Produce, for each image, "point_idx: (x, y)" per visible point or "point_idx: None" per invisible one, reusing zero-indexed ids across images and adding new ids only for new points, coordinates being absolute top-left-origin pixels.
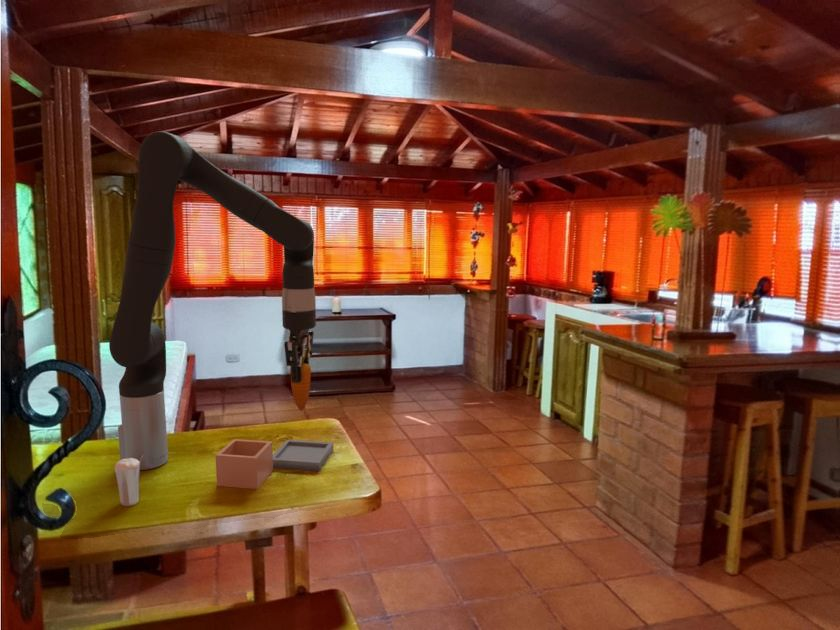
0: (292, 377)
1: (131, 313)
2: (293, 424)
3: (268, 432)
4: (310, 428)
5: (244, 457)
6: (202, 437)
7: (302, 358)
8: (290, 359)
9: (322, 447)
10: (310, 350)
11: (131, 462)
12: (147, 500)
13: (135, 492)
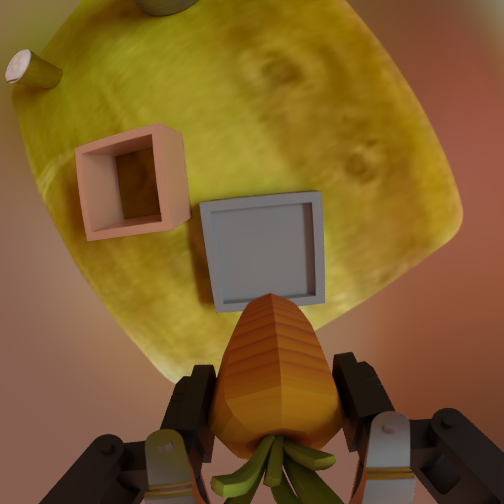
0: (176, 391)
1: None
2: (432, 157)
3: (382, 116)
4: (421, 202)
5: (82, 214)
6: (309, 4)
7: (271, 488)
8: (149, 472)
9: (309, 282)
10: (421, 477)
11: (10, 74)
12: (60, 92)
13: (40, 86)
